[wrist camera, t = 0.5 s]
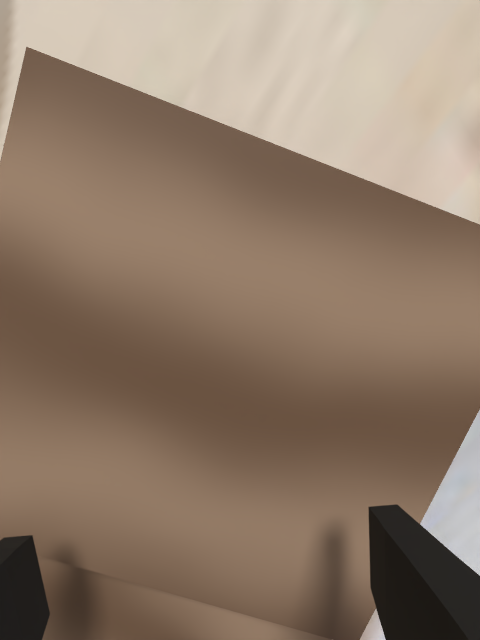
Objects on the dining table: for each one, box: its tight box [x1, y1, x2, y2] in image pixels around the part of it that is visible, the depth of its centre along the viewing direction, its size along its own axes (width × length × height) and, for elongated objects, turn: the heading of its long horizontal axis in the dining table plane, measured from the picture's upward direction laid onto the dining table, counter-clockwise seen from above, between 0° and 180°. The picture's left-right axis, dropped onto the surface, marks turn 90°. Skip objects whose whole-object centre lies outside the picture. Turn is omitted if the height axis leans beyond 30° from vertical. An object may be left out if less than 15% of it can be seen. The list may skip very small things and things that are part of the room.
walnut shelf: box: [0, 47, 480, 640], centre depth 16 cm, size 20×13×7 cm
